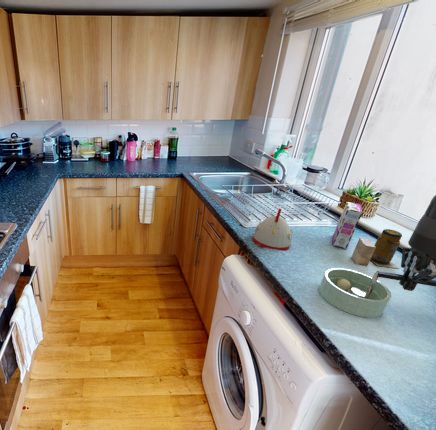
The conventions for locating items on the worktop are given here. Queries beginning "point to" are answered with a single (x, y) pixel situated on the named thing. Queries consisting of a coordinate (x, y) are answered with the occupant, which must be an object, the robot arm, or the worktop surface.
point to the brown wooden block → (363, 252)
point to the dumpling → (343, 284)
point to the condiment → (386, 248)
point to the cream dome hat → (273, 233)
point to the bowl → (351, 302)
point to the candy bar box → (347, 225)
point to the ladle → (366, 294)
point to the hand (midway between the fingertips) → (405, 287)
